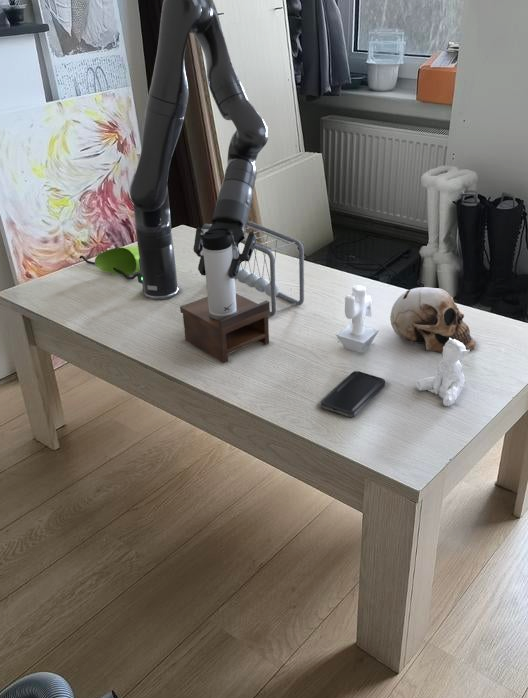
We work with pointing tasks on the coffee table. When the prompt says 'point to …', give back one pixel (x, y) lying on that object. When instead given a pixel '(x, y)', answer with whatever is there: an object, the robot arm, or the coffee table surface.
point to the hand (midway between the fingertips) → (216, 275)
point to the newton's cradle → (262, 283)
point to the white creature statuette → (447, 373)
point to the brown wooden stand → (226, 327)
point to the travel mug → (219, 272)
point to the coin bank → (429, 319)
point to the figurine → (357, 321)
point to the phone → (353, 393)
